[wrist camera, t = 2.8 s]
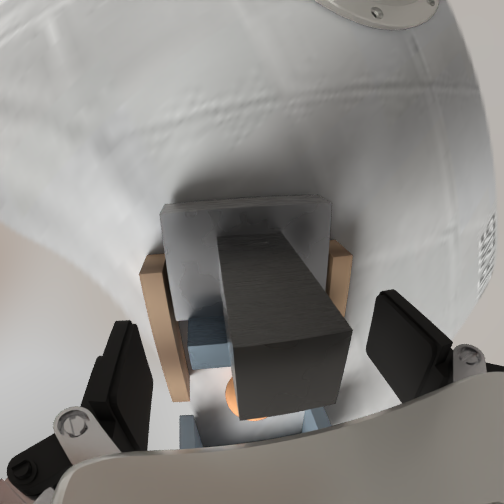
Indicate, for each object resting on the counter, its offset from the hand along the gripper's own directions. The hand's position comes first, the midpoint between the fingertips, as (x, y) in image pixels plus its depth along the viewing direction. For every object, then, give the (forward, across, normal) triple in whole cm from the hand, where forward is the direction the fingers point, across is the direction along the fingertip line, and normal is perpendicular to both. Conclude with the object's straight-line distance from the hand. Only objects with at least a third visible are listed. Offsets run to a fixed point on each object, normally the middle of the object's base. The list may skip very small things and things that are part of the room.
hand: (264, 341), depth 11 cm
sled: (+7, 0, 0) cm, 7 cm away
